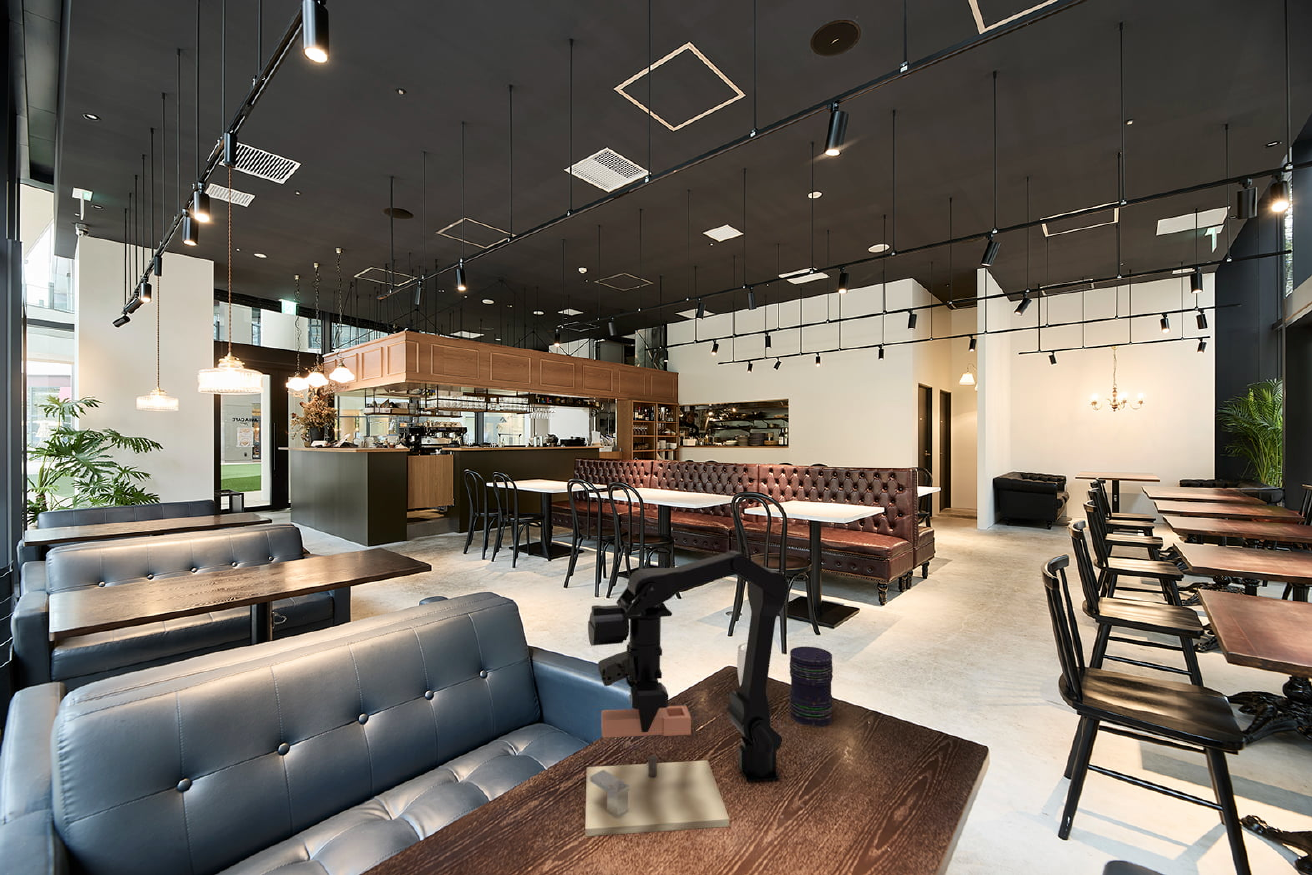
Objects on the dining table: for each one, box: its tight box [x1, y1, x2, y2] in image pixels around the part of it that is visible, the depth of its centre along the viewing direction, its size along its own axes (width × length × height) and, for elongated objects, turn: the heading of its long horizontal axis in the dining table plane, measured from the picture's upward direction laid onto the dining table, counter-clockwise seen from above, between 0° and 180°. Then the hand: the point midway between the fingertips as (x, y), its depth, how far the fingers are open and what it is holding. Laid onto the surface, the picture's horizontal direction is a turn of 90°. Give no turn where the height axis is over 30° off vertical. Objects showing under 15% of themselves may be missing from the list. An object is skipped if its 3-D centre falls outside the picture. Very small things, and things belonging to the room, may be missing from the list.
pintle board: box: [584, 755, 730, 837], centre depth 103 cm, size 24×18×4 cm
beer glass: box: [736, 643, 747, 687], centre depth 138 cm, size 7×7×15 cm
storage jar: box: [789, 646, 834, 728], centre depth 134 cm, size 10×10×15 cm
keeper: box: [590, 770, 629, 818], centre depth 98 cm, size 3×7×4 cm, turn 46°
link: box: [600, 705, 692, 739], centre depth 104 cm, size 16×5×3 cm, turn 98°
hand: (643, 725), depth 104 cm, fingers closed on link, 4 cm apart
